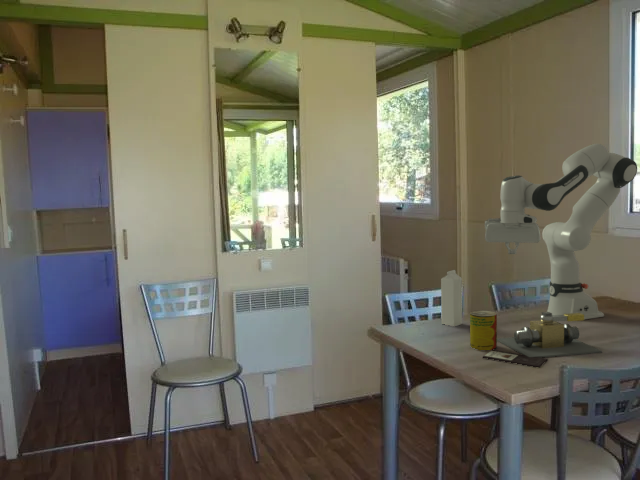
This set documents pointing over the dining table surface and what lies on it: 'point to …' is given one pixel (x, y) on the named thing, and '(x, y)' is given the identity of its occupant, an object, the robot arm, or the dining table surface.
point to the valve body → (546, 334)
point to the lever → (561, 317)
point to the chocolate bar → (515, 358)
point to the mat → (535, 351)
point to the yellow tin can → (483, 330)
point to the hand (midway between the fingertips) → (512, 254)
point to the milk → (451, 299)
